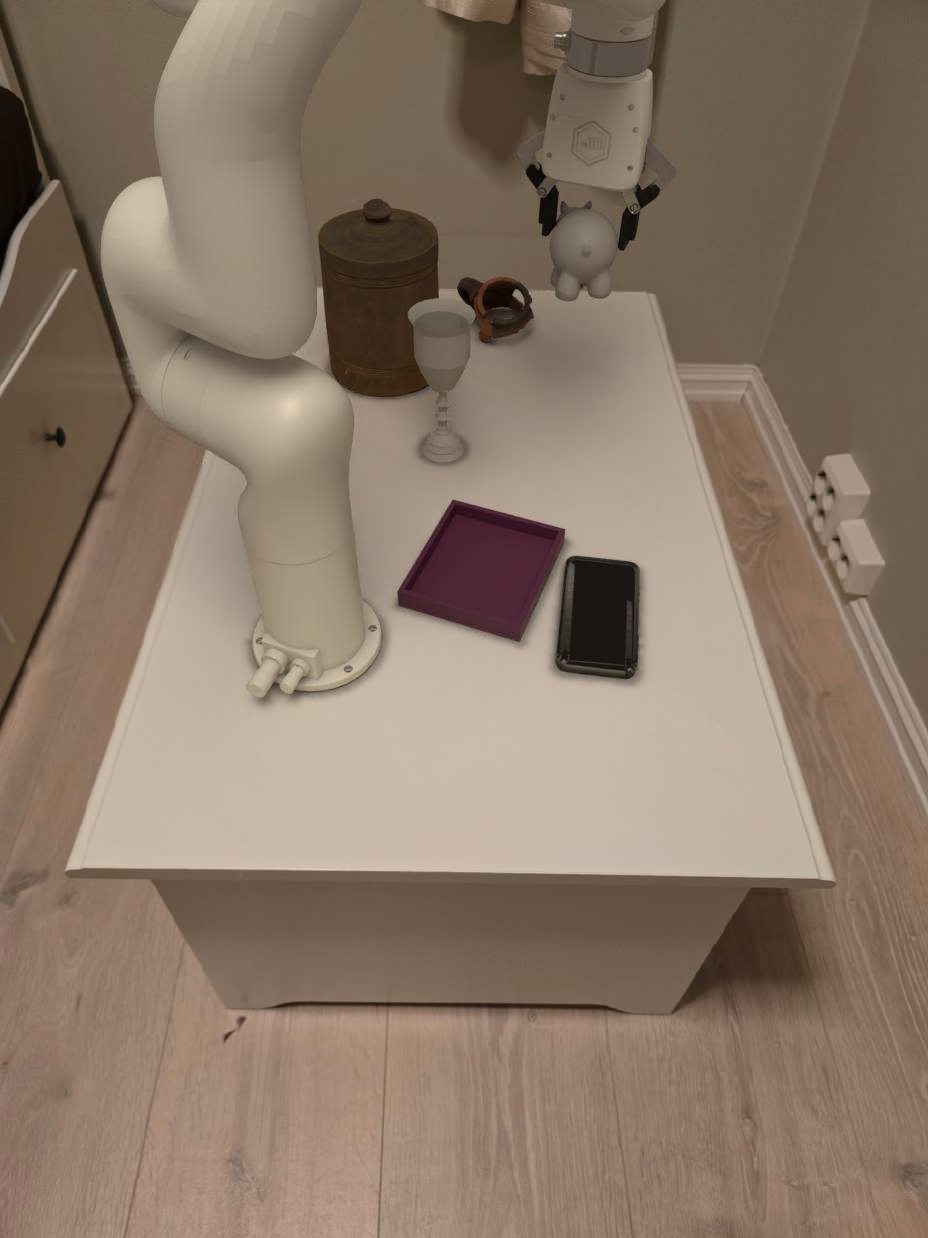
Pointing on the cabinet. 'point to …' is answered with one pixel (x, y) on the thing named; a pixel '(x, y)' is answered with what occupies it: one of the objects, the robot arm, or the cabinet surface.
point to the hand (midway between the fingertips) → (585, 237)
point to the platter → (483, 569)
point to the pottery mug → (496, 305)
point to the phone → (599, 617)
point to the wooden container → (376, 294)
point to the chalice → (442, 363)
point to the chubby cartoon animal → (582, 252)
